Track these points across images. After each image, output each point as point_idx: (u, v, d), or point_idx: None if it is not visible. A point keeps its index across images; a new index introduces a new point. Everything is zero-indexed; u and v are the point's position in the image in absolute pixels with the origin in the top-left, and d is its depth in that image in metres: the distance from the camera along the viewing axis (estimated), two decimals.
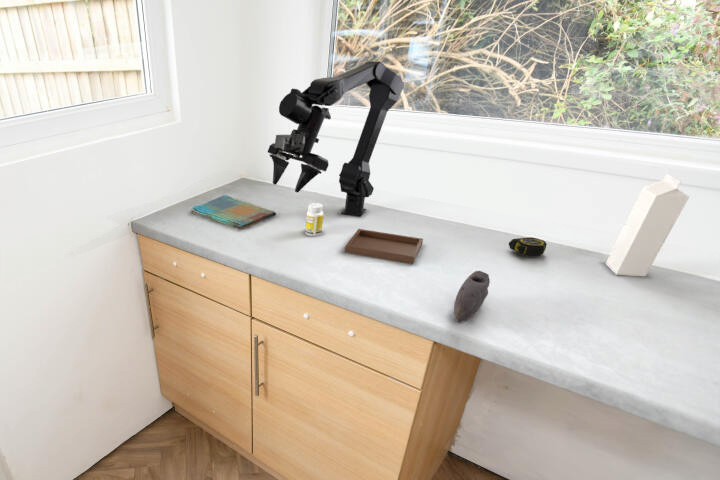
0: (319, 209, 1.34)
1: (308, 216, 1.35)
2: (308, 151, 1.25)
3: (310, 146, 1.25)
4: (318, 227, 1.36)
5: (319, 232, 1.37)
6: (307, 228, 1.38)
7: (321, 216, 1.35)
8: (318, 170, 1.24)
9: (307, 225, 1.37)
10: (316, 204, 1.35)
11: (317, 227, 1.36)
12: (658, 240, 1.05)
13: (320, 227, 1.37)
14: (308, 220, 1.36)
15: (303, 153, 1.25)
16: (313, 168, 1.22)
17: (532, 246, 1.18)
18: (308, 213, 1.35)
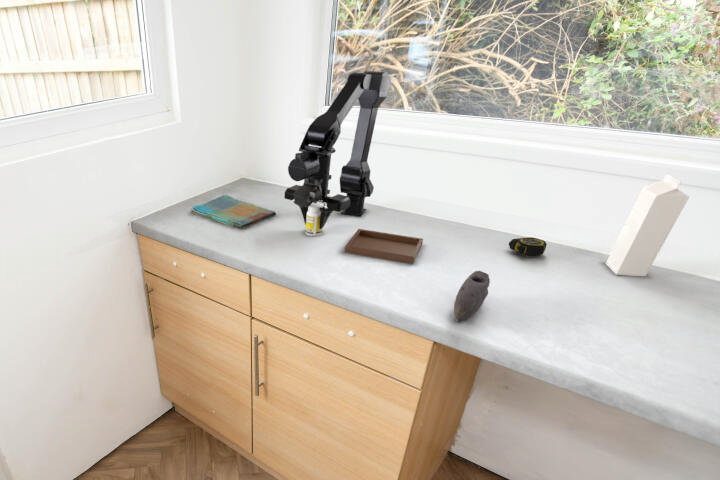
0: None
1: (308, 216, 1.35)
2: (326, 192, 1.31)
3: (326, 187, 1.30)
4: (318, 227, 1.36)
5: (319, 232, 1.37)
6: (307, 228, 1.38)
7: None
8: None
9: (307, 225, 1.37)
10: (316, 204, 1.35)
11: (317, 227, 1.36)
12: (658, 240, 1.05)
13: None
14: (308, 220, 1.36)
15: (322, 196, 1.31)
16: None
17: (532, 246, 1.18)
18: (308, 213, 1.35)
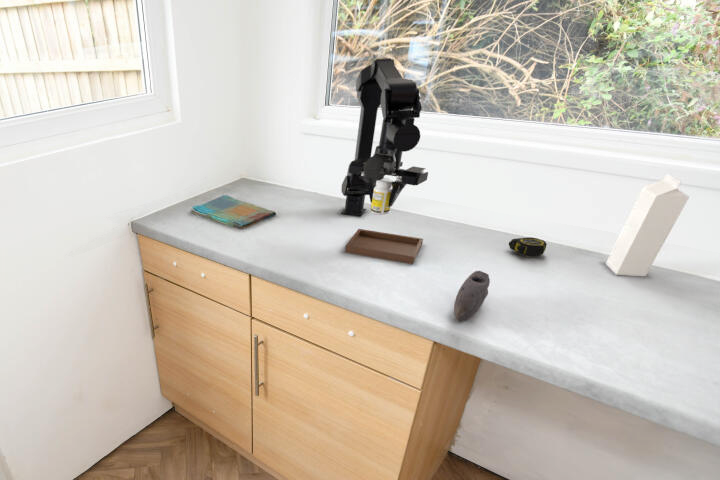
0: (390, 184, 1.18)
1: (376, 192, 1.20)
2: (399, 163, 1.15)
3: (400, 158, 1.15)
4: (387, 205, 1.21)
5: (387, 211, 1.22)
6: (374, 206, 1.22)
7: None
8: None
9: (374, 203, 1.22)
10: (386, 178, 1.20)
11: (386, 205, 1.21)
12: (658, 240, 1.05)
13: None
14: (376, 197, 1.21)
15: (395, 169, 1.15)
16: None
17: (532, 246, 1.18)
18: (376, 189, 1.20)
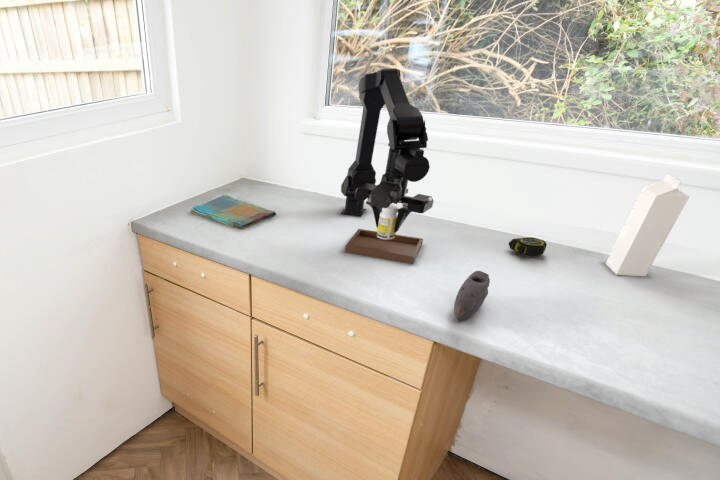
0: (396, 210, 1.20)
1: (382, 218, 1.22)
2: (405, 191, 1.18)
3: (406, 186, 1.17)
4: (393, 230, 1.23)
5: (393, 236, 1.24)
6: (380, 231, 1.24)
7: None
8: None
9: (380, 228, 1.24)
10: (391, 205, 1.22)
11: (392, 230, 1.23)
12: (658, 240, 1.05)
13: None
14: (382, 222, 1.23)
15: (401, 196, 1.18)
16: None
17: (532, 246, 1.18)
18: (382, 215, 1.22)
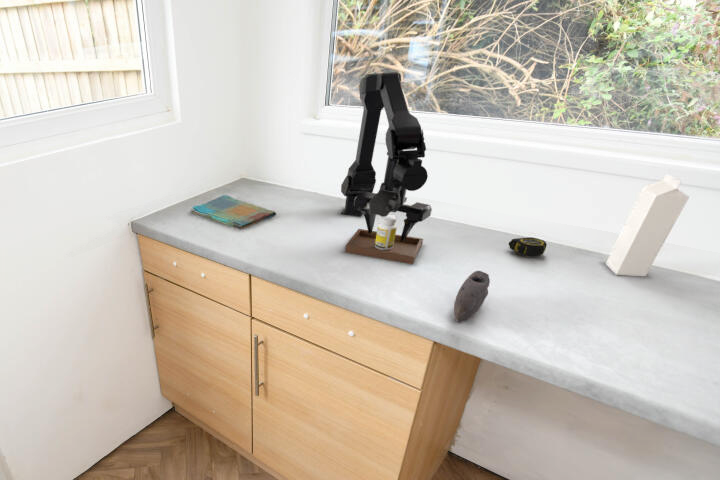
0: (394, 221, 1.22)
1: (380, 229, 1.24)
2: (403, 199, 1.19)
3: (404, 194, 1.18)
4: (391, 241, 1.25)
5: (391, 246, 1.26)
6: (378, 242, 1.26)
7: (395, 229, 1.23)
8: None
9: (378, 239, 1.26)
10: (389, 216, 1.24)
11: (390, 241, 1.25)
12: (658, 240, 1.05)
13: (392, 241, 1.25)
14: (380, 233, 1.25)
15: None
16: None
17: (532, 246, 1.18)
18: (380, 226, 1.24)
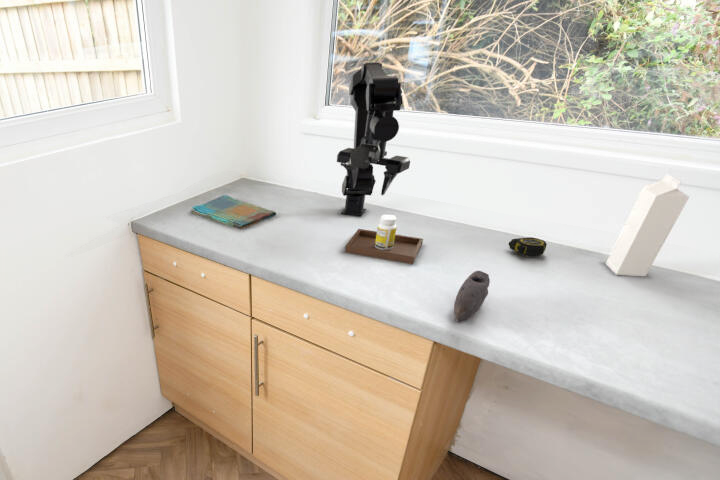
0: (394, 221, 1.22)
1: (380, 229, 1.24)
2: (383, 153, 1.24)
3: (384, 148, 1.23)
4: (391, 241, 1.25)
5: (391, 246, 1.26)
6: (378, 242, 1.26)
7: (395, 229, 1.23)
8: None
9: (378, 239, 1.26)
10: (389, 216, 1.24)
11: (390, 241, 1.25)
12: (658, 240, 1.05)
13: (392, 241, 1.25)
14: (380, 233, 1.25)
15: (380, 158, 1.24)
16: (397, 172, 1.23)
17: (532, 246, 1.18)
18: (380, 226, 1.24)
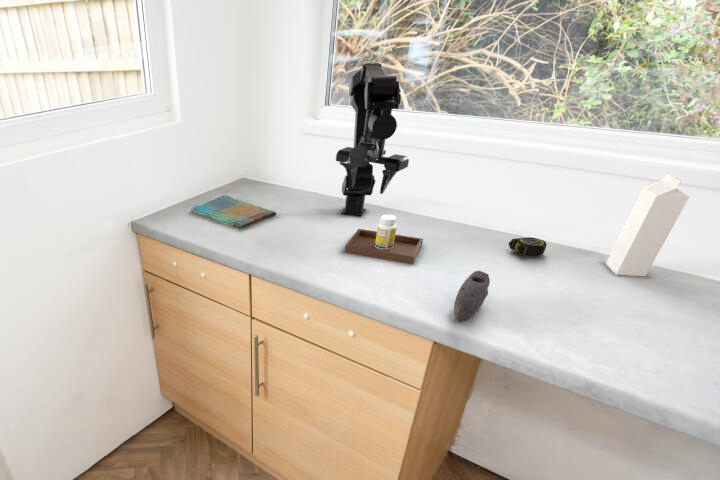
0: (394, 221, 1.22)
1: (380, 229, 1.24)
2: (382, 152, 1.25)
3: (383, 146, 1.24)
4: (391, 241, 1.25)
5: (391, 246, 1.26)
6: (378, 242, 1.26)
7: (395, 229, 1.23)
8: None
9: (378, 239, 1.26)
10: (389, 216, 1.24)
11: (390, 241, 1.25)
12: (658, 240, 1.05)
13: (392, 241, 1.25)
14: (380, 233, 1.25)
15: (379, 156, 1.25)
16: (396, 171, 1.23)
17: (532, 246, 1.18)
18: (380, 226, 1.24)
